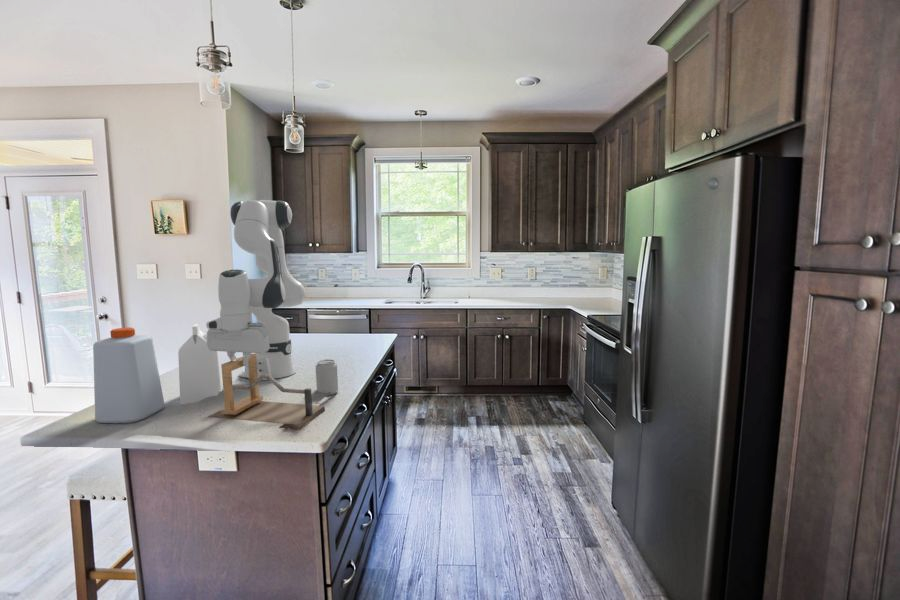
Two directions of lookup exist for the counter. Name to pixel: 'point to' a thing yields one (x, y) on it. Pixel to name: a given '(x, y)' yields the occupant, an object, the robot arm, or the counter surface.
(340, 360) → the counter surface
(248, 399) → the wooden frame
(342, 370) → the counter surface
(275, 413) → the buzz board
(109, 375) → the plastic bottle
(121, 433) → the counter surface
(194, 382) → the milk
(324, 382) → the can
